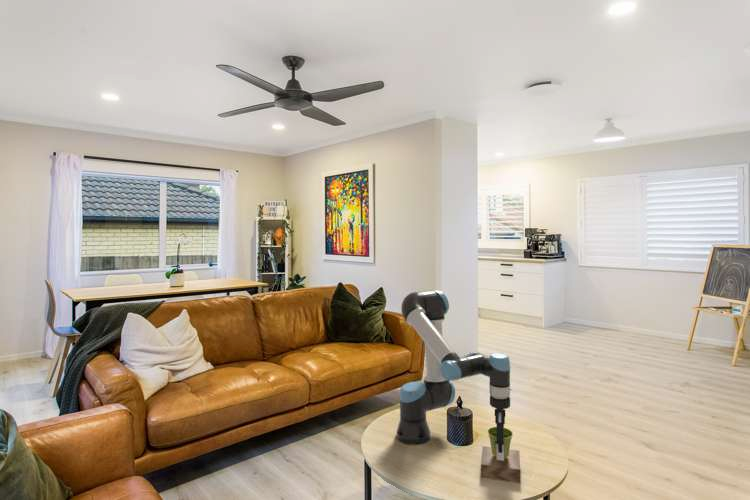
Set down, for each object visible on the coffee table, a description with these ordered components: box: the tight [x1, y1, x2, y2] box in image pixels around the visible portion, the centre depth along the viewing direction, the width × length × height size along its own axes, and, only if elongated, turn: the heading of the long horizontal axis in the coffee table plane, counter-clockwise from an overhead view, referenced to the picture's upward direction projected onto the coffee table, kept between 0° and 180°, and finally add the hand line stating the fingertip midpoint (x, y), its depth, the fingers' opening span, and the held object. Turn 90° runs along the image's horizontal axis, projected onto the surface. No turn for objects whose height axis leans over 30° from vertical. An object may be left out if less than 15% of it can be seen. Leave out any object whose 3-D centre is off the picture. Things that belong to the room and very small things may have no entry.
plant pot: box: [486, 426, 514, 458], centre depth 163 cm, size 9×9×9 cm
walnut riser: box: [480, 445, 522, 484], centre depth 163 cm, size 14×14×5 cm
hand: (500, 453), depth 163 cm, fingers closed on plant pot, 8 cm apart
